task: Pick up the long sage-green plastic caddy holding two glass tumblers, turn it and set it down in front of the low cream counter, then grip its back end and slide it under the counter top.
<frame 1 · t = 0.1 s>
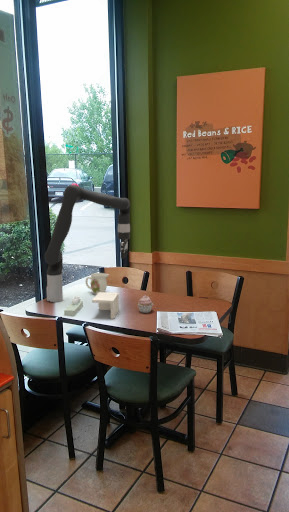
hand: (124, 257, 254), 29 cm above the table, tool pointing down, fingers open, 8 cm apart
counter: (106, 313, 239), on the table
cupcake: (145, 311, 243), on the table
pitcher: (97, 293, 280), on the table
caddy: (74, 311, 244), on the table
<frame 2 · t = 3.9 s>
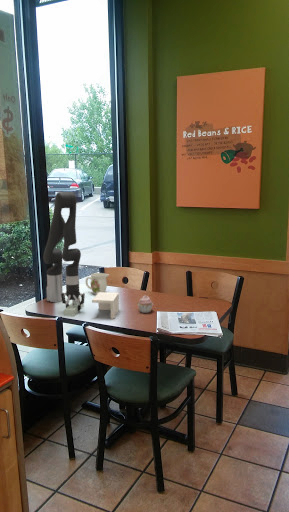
hand: (73, 310, 242), 1 cm above the table, tool pointing down, fingers closed on caddy, 6 cm apart
caddy: (74, 310, 244), on the table, touching gripper
everything else where it was.
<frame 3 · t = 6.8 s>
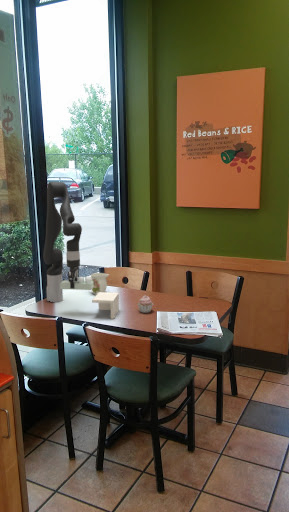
hand: (74, 286, 238), 15 cm above the table, tool pointing down, fingers closed on caddy, 6 cm apart
caddy: (77, 288, 238), point 15 cm above the table, touching gripper
everything else where it was.
when the fingers open (2 cm above the table, at t = 9.8 s): caddy drops 2 cm, on the table.
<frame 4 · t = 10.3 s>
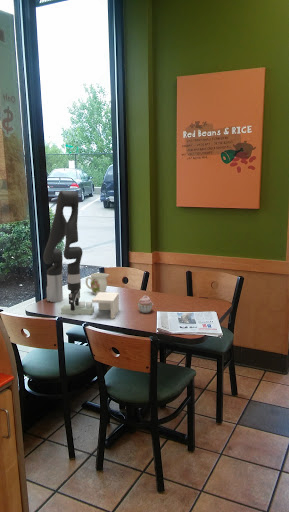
hand: (74, 308, 240), 3 cm above the table, tool pointing down, fingers open, 8 cm apart
caddy: (77, 313, 241), on the table
everything else where it was.
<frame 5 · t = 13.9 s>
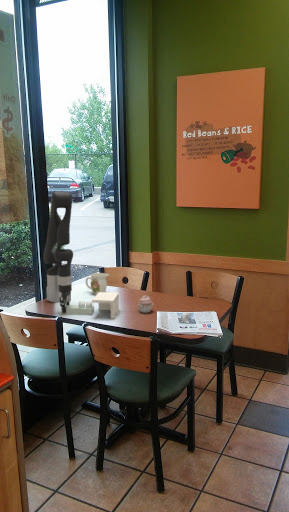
hand: (65, 311, 241), 1 cm above the table, tool pointing down, fingers closed on caddy, 6 cm apart
caddy: (77, 312, 241), on the table, touching gripper
everything else where it was.
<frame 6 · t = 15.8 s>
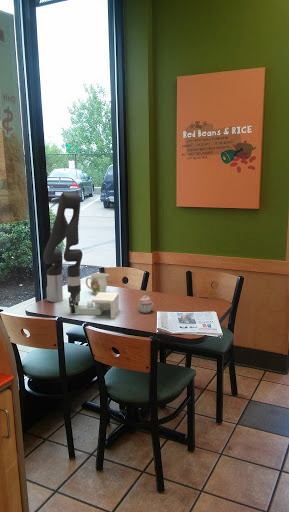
hand: (74, 311, 241), 1 cm above the table, tool pointing down, fingers closed on caddy, 6 cm apart
caddy: (86, 312, 240), on the table, touching gripper
everything else where it was.
when the fingers open (1 cm above the table, at t = 17.7 s): caddy stays where it is, on the table.
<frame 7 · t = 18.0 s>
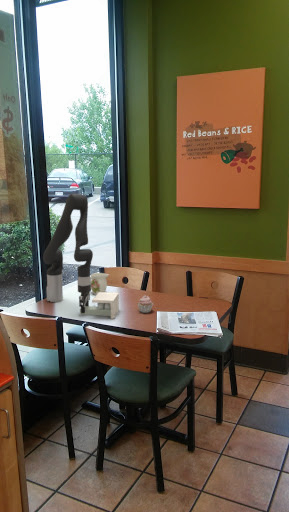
hand: (84, 310, 240), 1 cm above the table, tool pointing down, fingers open, 8 cm apart
caddy: (96, 313, 239), on the table
everything else where it was.
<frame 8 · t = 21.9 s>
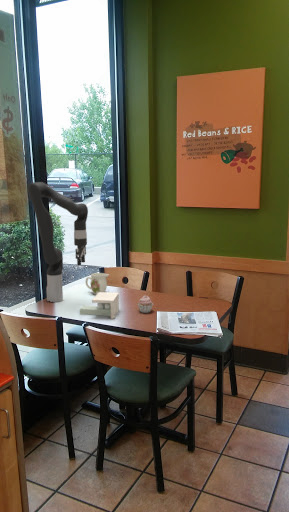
hand: (81, 263, 250), 26 cm above the table, tool pointing down, fingers open, 8 cm apart
nothing on the table moved.
at the end: caddy 0.8 cm from the target spot, on the table; caddy tilted 0°; the gripper is holding nothing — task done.
